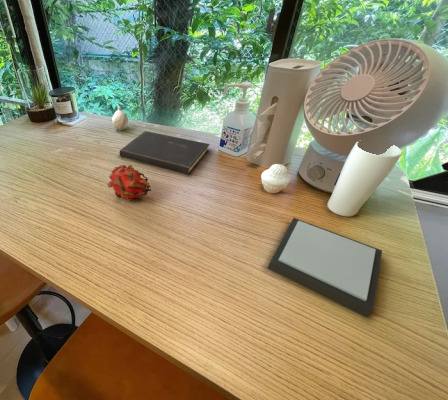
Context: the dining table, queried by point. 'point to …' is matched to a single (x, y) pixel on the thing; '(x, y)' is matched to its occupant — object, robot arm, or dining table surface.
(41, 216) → the dining table surface
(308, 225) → the scale
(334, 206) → the white cup
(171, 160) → the hardcover book
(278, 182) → the muffin
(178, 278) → the dining table surface
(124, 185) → the dragon fruit
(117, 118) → the garlic bulb
